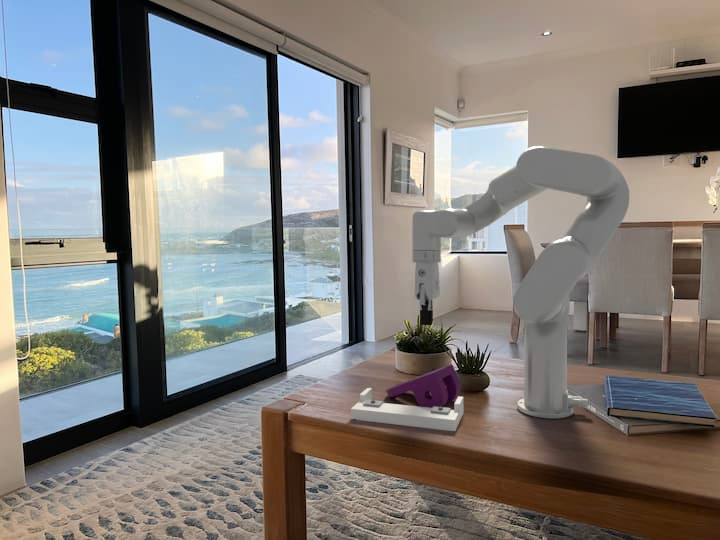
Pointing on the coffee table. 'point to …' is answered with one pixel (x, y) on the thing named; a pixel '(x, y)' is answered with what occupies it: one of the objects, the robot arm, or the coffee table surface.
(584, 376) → the coffee table surface
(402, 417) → the white bolted base plate
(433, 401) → the mounting bracket
